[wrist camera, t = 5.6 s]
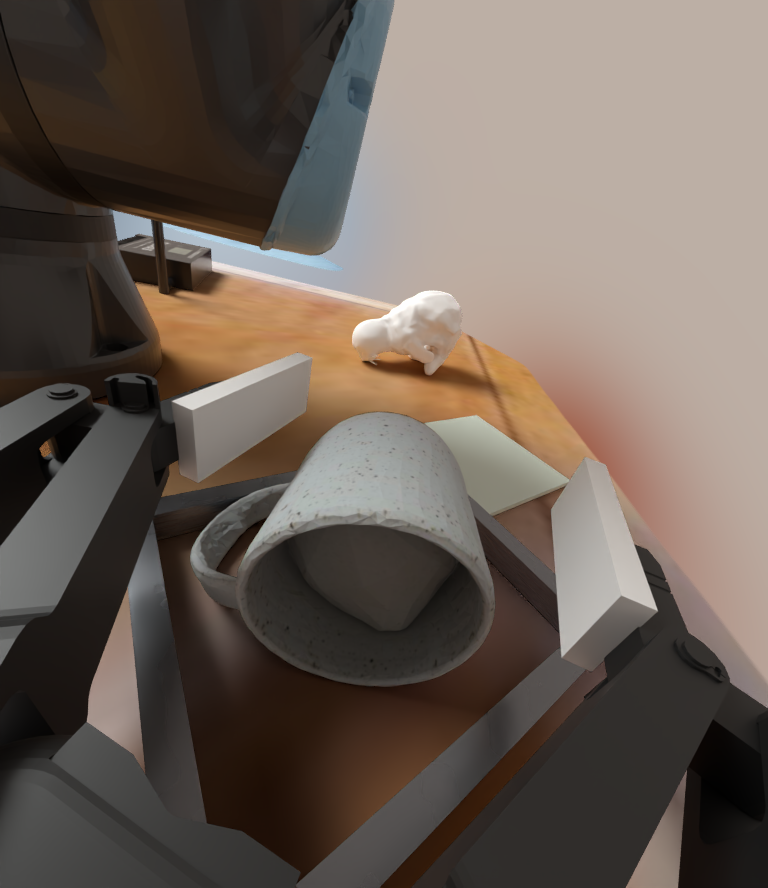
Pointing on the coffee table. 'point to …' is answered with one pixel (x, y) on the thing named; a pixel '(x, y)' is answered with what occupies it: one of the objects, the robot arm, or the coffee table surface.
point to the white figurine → (413, 330)
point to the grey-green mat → (496, 465)
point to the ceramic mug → (360, 558)
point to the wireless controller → (165, 261)
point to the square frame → (425, 797)
